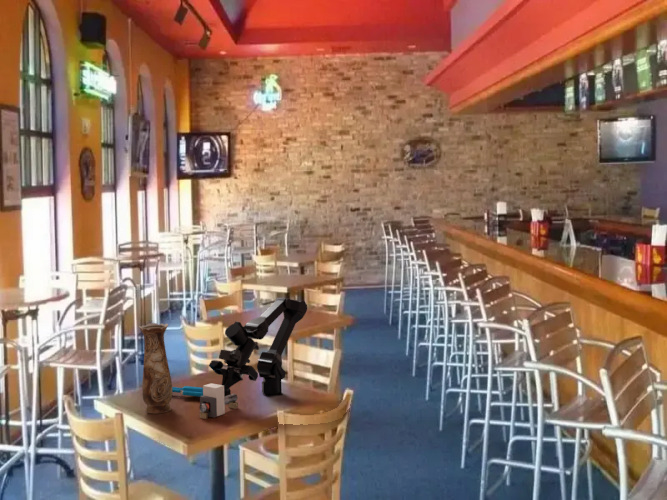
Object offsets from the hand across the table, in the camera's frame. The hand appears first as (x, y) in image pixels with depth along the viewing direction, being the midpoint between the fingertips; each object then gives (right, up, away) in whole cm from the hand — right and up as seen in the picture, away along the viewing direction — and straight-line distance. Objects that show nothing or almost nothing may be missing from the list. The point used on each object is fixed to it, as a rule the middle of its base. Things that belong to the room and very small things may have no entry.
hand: (222, 390), depth 279 cm
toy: (-13, -6, +19) cm, 24 cm away
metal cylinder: (-1, -7, -1) cm, 7 cm away
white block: (-2, -8, -3) cm, 8 cm away
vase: (-23, -7, +3) cm, 24 cm away
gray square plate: (-4, -8, -5) cm, 10 cm away
